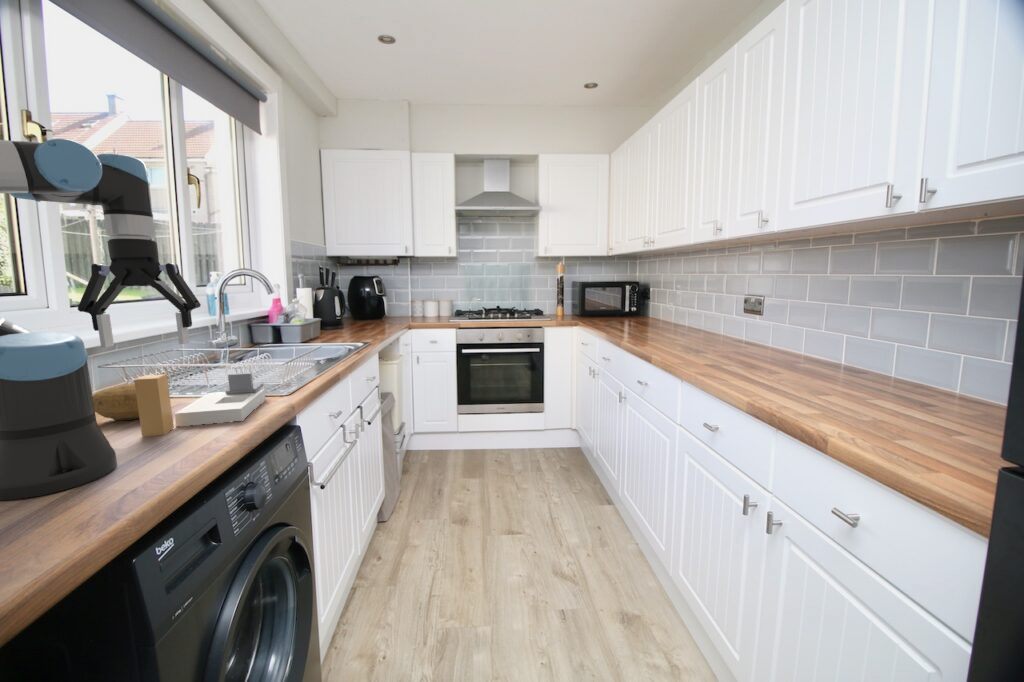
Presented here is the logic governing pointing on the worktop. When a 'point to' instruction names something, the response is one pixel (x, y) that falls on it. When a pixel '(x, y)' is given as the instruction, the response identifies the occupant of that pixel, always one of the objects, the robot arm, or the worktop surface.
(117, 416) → the potato
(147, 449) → the worktop surface
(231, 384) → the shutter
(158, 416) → the plug
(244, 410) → the socket board
